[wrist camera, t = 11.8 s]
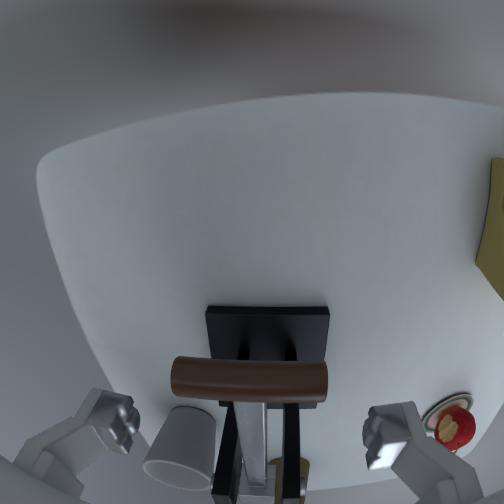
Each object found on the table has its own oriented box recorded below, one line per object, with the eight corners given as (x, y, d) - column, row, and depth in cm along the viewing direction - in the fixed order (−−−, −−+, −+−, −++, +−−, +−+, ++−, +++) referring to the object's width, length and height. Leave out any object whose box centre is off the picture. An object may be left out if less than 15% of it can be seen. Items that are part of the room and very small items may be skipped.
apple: (413, 434, 31) (424, 471, 25) (430, 399, 28) (446, 440, 22) (460, 421, 30) (473, 454, 24) (479, 385, 27) (498, 420, 21)
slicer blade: (181, 337, 10) (162, 390, 8) (324, 341, 10) (331, 397, 8) (224, 474, 17) (220, 502, 15) (296, 477, 16) (295, 506, 14)
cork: (276, 476, 36) (273, 535, 26) (260, 460, 35) (254, 527, 24) (314, 469, 35) (316, 531, 25) (301, 453, 33) (302, 523, 23)
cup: (221, 404, 30) (208, 468, 22) (227, 448, 34) (218, 501, 26) (156, 395, 31) (133, 453, 23) (172, 440, 34) (156, 489, 26)
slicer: (207, 305, 25) (150, 458, 11) (328, 306, 24) (360, 468, 10) (221, 398, 30) (194, 521, 16) (315, 400, 29) (322, 527, 15)
